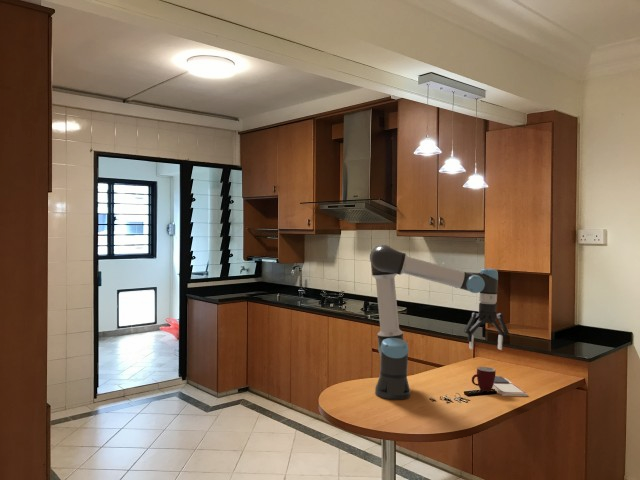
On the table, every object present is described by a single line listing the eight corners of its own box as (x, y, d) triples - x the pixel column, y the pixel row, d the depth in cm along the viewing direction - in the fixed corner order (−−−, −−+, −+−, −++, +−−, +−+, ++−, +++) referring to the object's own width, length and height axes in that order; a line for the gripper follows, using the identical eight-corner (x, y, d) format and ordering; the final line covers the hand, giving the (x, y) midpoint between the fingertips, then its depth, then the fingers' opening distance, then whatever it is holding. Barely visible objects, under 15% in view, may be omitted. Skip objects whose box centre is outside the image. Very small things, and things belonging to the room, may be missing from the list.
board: (502, 395, 228) (502, 391, 228) (482, 379, 252) (482, 375, 252) (527, 396, 229) (527, 391, 229) (505, 380, 253) (505, 376, 252)
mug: (477, 394, 228) (478, 372, 228) (467, 388, 236) (468, 367, 236) (498, 393, 231) (499, 371, 231) (488, 387, 239) (489, 366, 239)
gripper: (464, 303, 229) (462, 350, 229) (518, 304, 231) (515, 351, 232) (458, 300, 236) (455, 346, 236) (510, 302, 239) (507, 347, 239)
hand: (485, 349), depth 234 cm, fingers open, 13 cm apart
